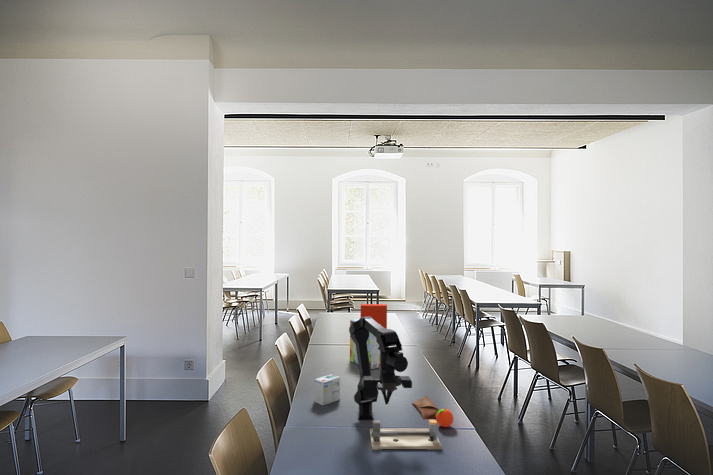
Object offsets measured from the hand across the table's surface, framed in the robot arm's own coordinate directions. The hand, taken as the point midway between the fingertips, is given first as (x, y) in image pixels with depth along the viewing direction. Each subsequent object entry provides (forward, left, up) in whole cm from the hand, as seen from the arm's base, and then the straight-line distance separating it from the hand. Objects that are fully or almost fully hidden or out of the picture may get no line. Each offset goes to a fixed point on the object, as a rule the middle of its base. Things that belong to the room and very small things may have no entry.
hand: (386, 404), depth 159 cm
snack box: (-89, -4, -12) cm, 90 cm away
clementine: (-6, +24, -12) cm, 27 cm away
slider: (+6, +17, -10) cm, 21 cm away
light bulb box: (-33, -24, -12) cm, 43 cm away
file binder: (-114, +3, -12) cm, 115 cm away
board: (+5, +6, -12) cm, 14 cm away
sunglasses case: (-22, +20, -12) cm, 32 cm away
